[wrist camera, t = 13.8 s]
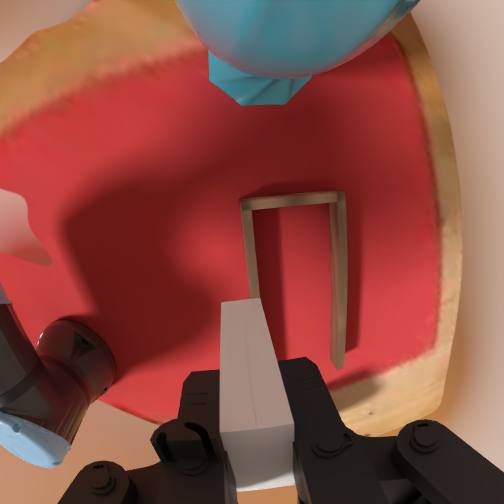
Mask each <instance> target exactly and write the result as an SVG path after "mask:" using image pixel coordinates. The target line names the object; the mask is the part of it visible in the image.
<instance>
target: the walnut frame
mask: <svg viewBox="0 0 504 504" xmlns="http://www.w3.org/2000/svg"><path fill="white" fill-rule="evenodd" d="M239 200H240V210H241V219H242V229H243V238H244V247H245V256H246V265H247V275H248V284H249V293H250V299H254V298H260V291H259V281H258V271H257V261H256V251H255V241H254V231H253V221H252V211H251V210H258V209H267V208H277V207H287V206H298V205H309V204H321V203H329V218H330V241H331V288H332V307H331V354H330V358H331V360H332V362H333V364H334V366H335V368H336V369H337V370H338V369H343V368H344V358H345V342H346V322H347V282H348V257H347V217H346V196H345V192H341V191H322V192H309V193H297V194H285V195H274V196H264V197H254V198H245V199H239Z"/></svg>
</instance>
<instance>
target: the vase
mask: <svg viewBox="0 0 504 504" xmlns="http://www.w3.org/2000/svg"><path fill="white" fill-rule="evenodd" d="M419 1H420V0H175V2H176V4H177V6H178V8H179V10H180V12H181V14H182V15H183V17H184V19H185V20H186V22H187V23H188V25H189V26H190V28H191V29H192V31H193V32H194V34H195V35H196V36H197V37H198V39H199V40H200V41H201V42H202V43H203V45H204V46H205V47H206V48H207V49H208V56H209V80H210V81H211V82H212V83H213V84H215V85H217V86H218V87H219V88H220V89H222V90H223V91H224V92H225V93H227V94H228V95H229V96H230V97H232V98H233V99H234V100H236V101H237V102H238V103H239V104H240V105H242V106H249V105H273V104H277V105H284V104H286V103H287V102H288V101H289V100H290V99H291V98H292V97H293V96H294V95H295V94H296V93H297V92H298V91H299V90H300V89H301V88H302V87H303V86H304V85H305V84H306V83H307V82H308V81H310V79H311V77H312V75H316V74H320V73H323V72H326V71H328V70H331V69H333V68H336V67H338V66H340V65H342V64H344V63H346V62H348V61H350V60H352V59H353V58H355V57H357V56H358V55H360V54H361V53H363V52H364V51H366V50H367V49H369V48H370V47H372V46H373V45H374V44H375V43H377V42H378V41H379V40H380V39H382V38H383V37H384V36H385V35H386V34H387V33H389V32H390V31H391V30H392V29H393V28H394V27H395V26H396V25H397V24H398V23H399V22H400V21H401V20H402V19H403V18H404V17H405V16H406V15H407V14H408V13H409V12H410V11H411V10H412V9H413V8H414V7H415V6H416V5H417V3H418V2H419Z"/></svg>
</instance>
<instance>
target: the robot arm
mask: <svg viewBox="0 0 504 504" xmlns="http://www.w3.org/2000/svg"><path fill="white" fill-rule="evenodd" d="M115 373H116V367H115V362H114V358H113V356H112V354H111V352H110V350H109V348H108V347H107V345H106V344H105V343H104V341H103V340H102V339H101V338H100V337H99V336H98V335H97V334H96V333H95V332H93V331H92V330H91V329H89V328H88V327H86V326H84V325H82V324H80V323H78V322H75V321H71V320H58V321H55V322H53V323H51V324H50V325H49V326H48V327H47V328H46V329H45V330H44V331H43V332H42V333H41V335H40V337H39V340H38V344H37V348H36V350H35V349H34V347H33V345H32V343H31V342H30V340H29V338H28V336H27V335H26V333H25V331H24V329H23V327H22V325H21V323H20V321H19V319H18V317H17V315H16V313H15V311H14V309H13V306H12V302H11V300H9V298H8V297H7V295H6V293H5V291H4V289H3V287H2V284H1V282H0V444H1V445H2V446H3V447H4V448H6V449H7V450H8V451H10V452H11V453H12V454H14V455H16V456H17V457H19V458H21V459H22V460H24V461H26V462H28V463H31V464H33V465H36V466H40V467H44V468H54V467H57V466H59V465H60V464H61V463H62V462H63V460H64V458H65V456H66V454H67V452H68V451H69V450H70V449H71V445H72V443H73V440H74V438H75V436H76V433H77V431H78V429H79V426H80V424H81V422H82V420H83V418H84V416H85V414H86V411H87V409H88V407H89V405H90V404H91V403H93V402H94V401H95V400H97V399H98V398H99V397H100V396H101V395H103V394H104V393H105V392H107V391H108V389H109V388H110V386H111V384H112V382H113V380H114V377H115ZM181 395H182V397H181V400H180V407H179V412H178V419H173V420H171V421H168V422H166V423H164V424H162V425H161V426H160V427H159V428H157V429H156V430H155V431H154V433H153V435H152V437H151V439H150V441H151V443H152V445H153V447H154V449H155V451H156V453H157V454H158V456H159V458H160V460H161V461H160V462H158V463H156V464H154V465H151V466H148V467H144V468H139V469H133V470H128V471H125V470H124V469H123V468H122V466H120V465H118V464H116V463H114V462H110V461H97V462H93V463H91V464H89V465H87V466H85V467H84V468H83V469H82V470H81V471H80V472H79V473H78V474H77V476H76V477H75V479H74V480H73V482H72V483H71V485H70V486H69V488H68V489H67V491H66V492H65V493H64V495H63V497H62V498H61V499H60V501H59V502H58V504H238V502H237V491H238V492H239V491H250V490H259V489H267V488H275V487H281V486H288V485H293V484H296V488H297V492H298V504H504V472H502V471H501V470H500V469H499V468H497V467H496V466H495V465H494V464H492V463H491V462H490V461H488V460H487V459H486V458H484V457H483V456H482V455H481V454H479V453H478V452H477V451H476V450H474V449H473V448H472V447H471V446H469V445H468V444H467V443H465V442H464V441H463V440H462V439H461V438H459V437H458V436H457V435H455V434H454V433H453V432H452V431H450V430H449V429H448V428H447V427H445V426H444V425H442V424H440V423H438V422H437V421H432V420H426V419H425V420H416V421H414V422H411V423H409V424H407V425H406V426H405V427H404V428H402V429H401V430H400V432H399V434H398V436H389V437H365V436H362V435H358V434H356V433H354V431H352V430H351V429H349V428H347V427H346V426H345V425H344V423H343V422H342V420H341V417H340V415H339V413H338V411H337V409H336V406H335V404H334V402H333V400H332V398H331V395H330V393H329V391H328V389H327V388H326V384H325V382H324V380H323V378H322V376H321V373H320V371H319V369H318V367H317V365H316V364H315V363H313V362H312V361H311V360H309V359H308V358H307V357H302V358H296V359H290V360H283V361H277V359H276V355H275V352H274V348H273V344H272V341H271V337H270V333H269V329H268V326H267V322H266V318H265V315H264V311H263V307H262V304H261V300H260V298H254V299H246V300H237V301H229V302H221V336H220V369H219V370H208V371H195V372H191V373H190V375H189V376H188V377H187V378H186V380H185V381H184V382H183V388H182V394H181ZM236 488H237V490H236Z"/></svg>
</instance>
